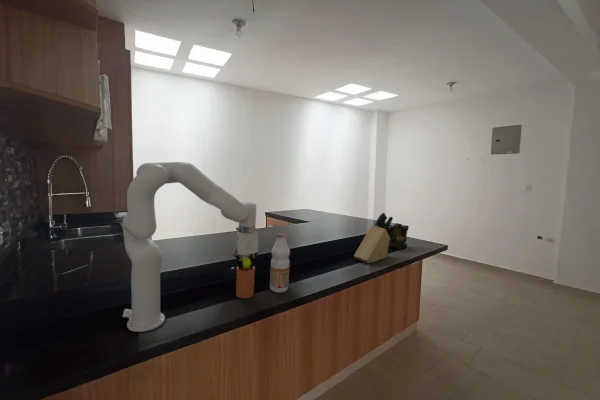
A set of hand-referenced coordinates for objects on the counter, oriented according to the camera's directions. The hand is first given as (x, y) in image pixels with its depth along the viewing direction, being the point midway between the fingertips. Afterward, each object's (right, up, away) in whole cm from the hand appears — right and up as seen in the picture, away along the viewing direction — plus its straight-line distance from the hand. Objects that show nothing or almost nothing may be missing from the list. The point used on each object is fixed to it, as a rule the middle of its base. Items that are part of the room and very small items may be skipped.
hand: (245, 266), depth 136 cm
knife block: (+78, -9, +68) cm, 104 cm away
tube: (-1, -13, +2) cm, 13 cm away
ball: (0, +2, 0) cm, 2 cm away
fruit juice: (+15, -13, +10) cm, 22 cm away
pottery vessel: (+102, -7, +97) cm, 141 cm away
